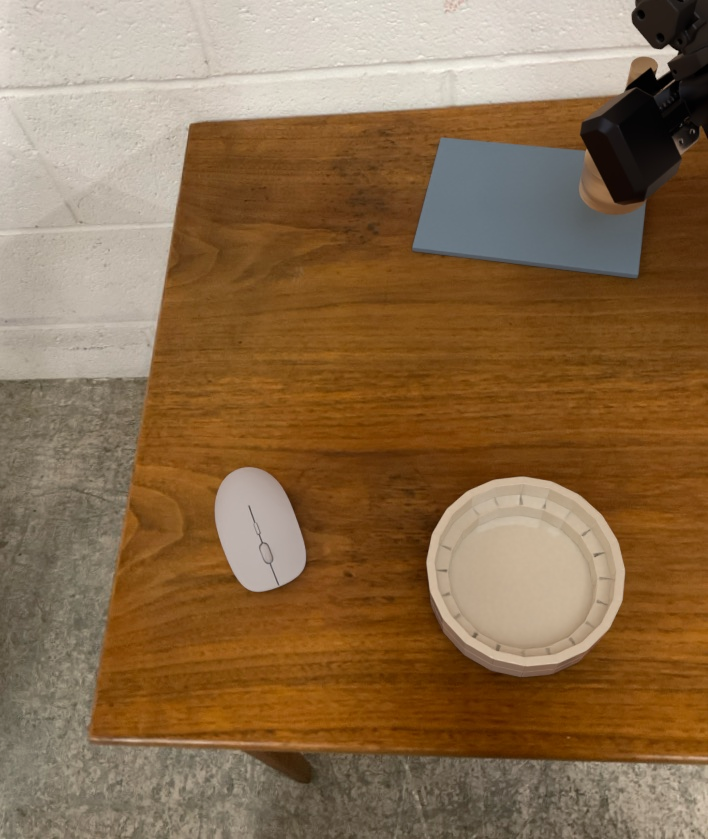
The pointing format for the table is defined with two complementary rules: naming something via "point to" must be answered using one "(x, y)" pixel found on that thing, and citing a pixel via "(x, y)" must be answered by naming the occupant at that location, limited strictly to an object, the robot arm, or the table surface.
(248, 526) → the computer mouse
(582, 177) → the wooden stamp
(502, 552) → the bowl
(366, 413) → the table surface
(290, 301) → the table surface
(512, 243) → the mat
